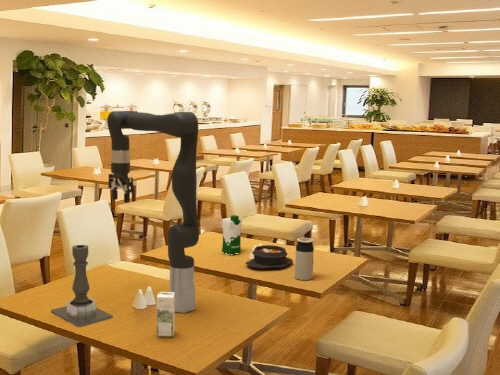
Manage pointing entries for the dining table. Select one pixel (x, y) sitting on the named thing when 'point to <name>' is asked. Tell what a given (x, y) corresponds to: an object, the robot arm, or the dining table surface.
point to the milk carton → (231, 235)
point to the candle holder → (80, 275)
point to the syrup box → (165, 314)
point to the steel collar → (82, 313)
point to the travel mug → (304, 259)
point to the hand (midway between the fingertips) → (120, 201)
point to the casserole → (269, 257)
